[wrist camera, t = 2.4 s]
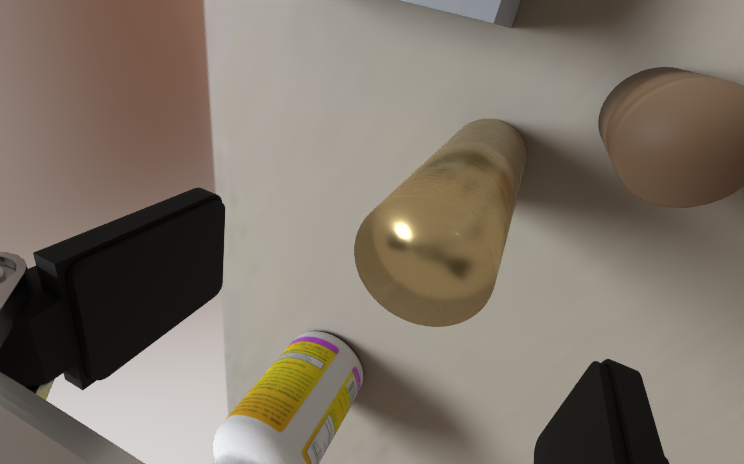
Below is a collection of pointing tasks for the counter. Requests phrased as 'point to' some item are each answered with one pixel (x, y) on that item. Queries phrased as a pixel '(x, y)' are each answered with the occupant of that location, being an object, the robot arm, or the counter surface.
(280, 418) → the supplement bottle
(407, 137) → the counter surface
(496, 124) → the tall peg
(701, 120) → the short peg
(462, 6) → the socket block
